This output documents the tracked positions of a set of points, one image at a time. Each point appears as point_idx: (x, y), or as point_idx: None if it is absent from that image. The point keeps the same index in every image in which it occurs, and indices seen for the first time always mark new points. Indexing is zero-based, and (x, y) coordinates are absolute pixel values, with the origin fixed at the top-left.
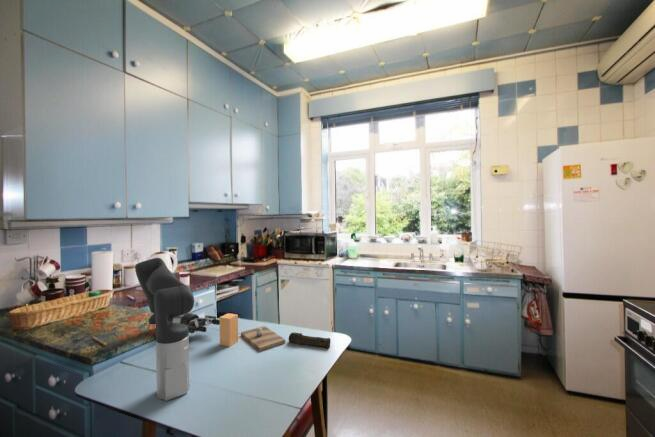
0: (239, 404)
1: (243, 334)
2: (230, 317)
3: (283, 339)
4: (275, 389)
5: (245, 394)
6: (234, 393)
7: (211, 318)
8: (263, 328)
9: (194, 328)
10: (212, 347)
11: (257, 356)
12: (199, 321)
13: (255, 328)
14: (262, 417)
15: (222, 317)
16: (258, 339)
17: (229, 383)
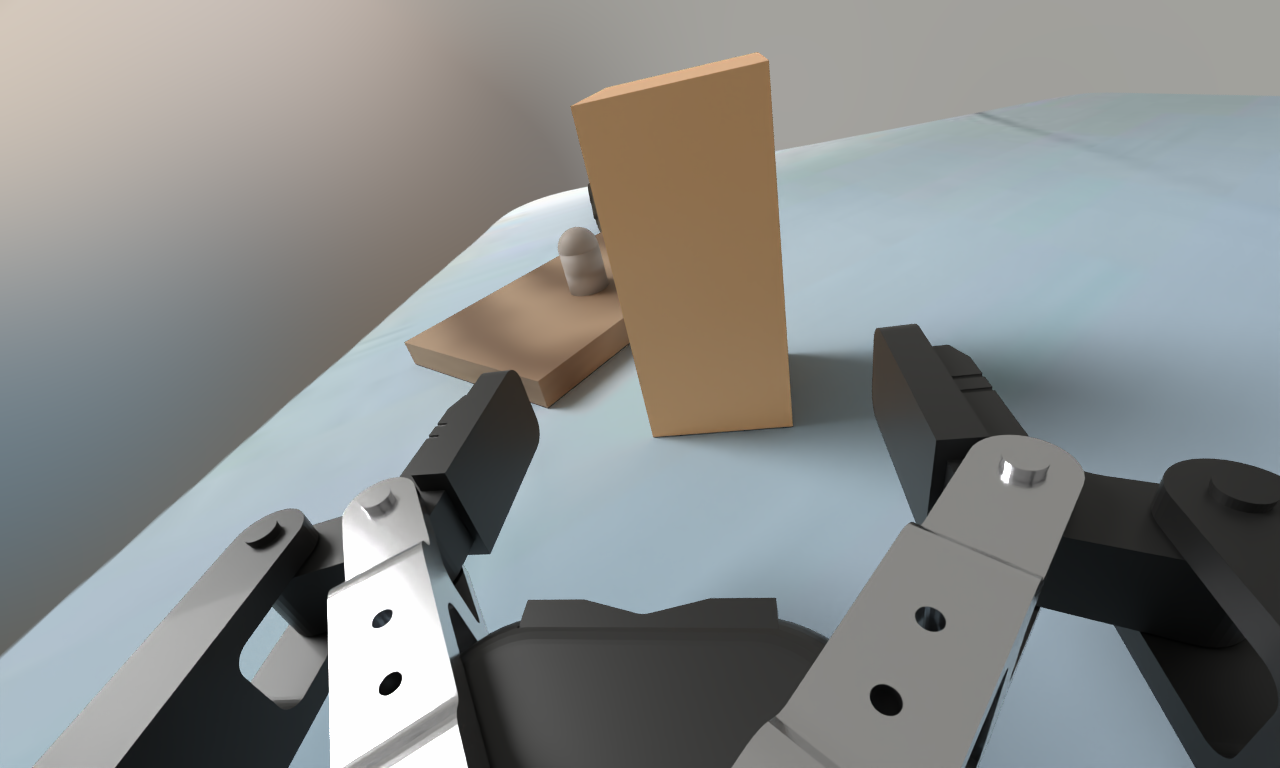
0: (1134, 128)
1: (582, 348)
2: (714, 64)
3: None
4: (960, 140)
5: (1075, 143)
6: (1116, 150)
7: (376, 530)
8: (459, 324)
9: (1157, 484)
10: None
11: (803, 232)
12: (645, 739)
13: (452, 353)
14: (1095, 106)
15: (756, 59)
16: None
17: (1096, 177)
